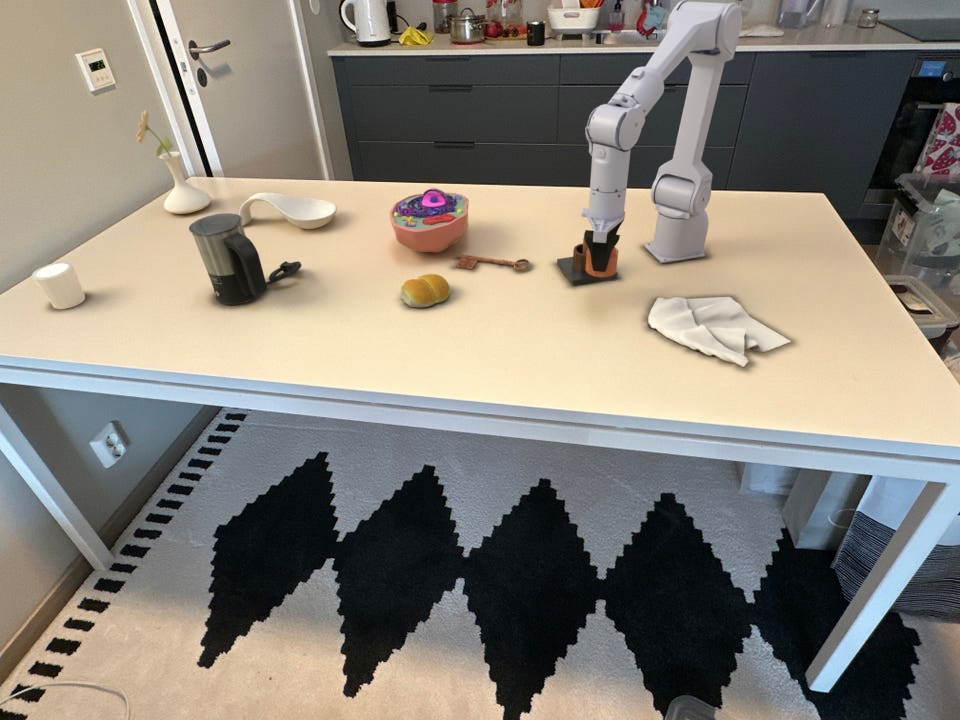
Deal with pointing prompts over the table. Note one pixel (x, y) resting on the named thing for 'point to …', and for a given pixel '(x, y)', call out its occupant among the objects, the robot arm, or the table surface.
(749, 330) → the cloth
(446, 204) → the cell model
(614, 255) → the terracotta ring
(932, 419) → the table surface
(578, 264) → the walnut ring
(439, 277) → the bread roll
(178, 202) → the flower in vase
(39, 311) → the table surface
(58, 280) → the white short cylinder
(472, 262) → the key
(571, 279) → the peg stand
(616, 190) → the robot arm
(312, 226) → the spoon rest
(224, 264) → the milk frother
